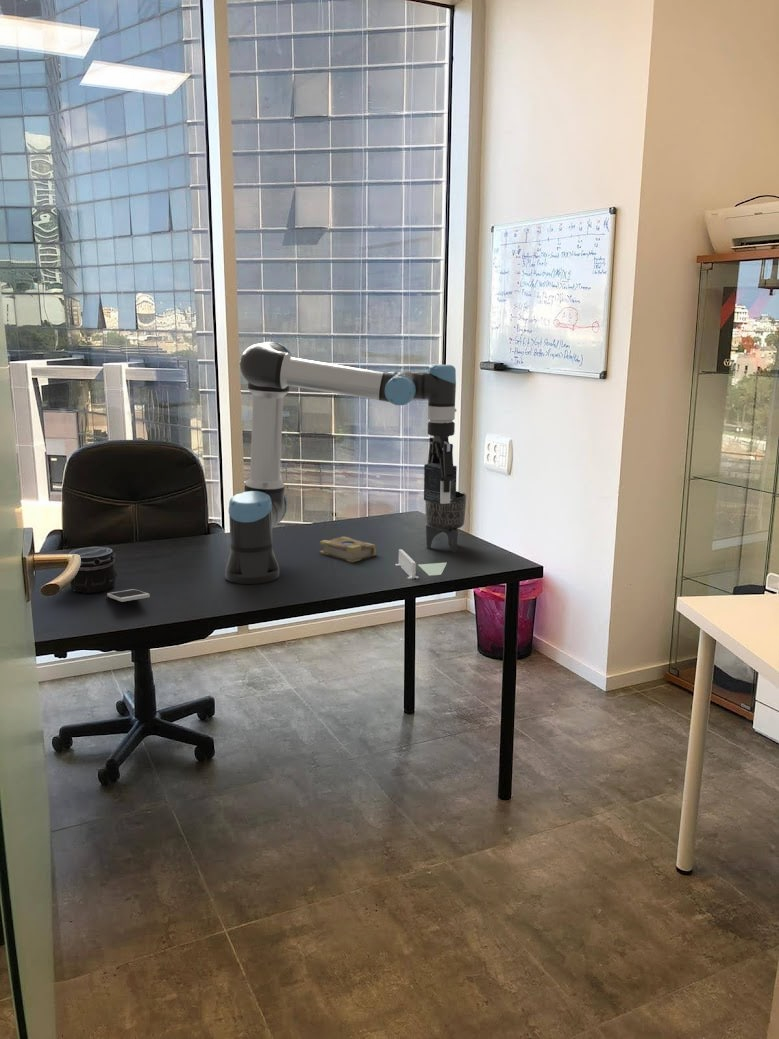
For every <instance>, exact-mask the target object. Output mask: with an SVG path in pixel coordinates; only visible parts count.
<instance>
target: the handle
mask: <svg viewBox="0 0 779 1039" xmlns="http://www.w3.org/2000/svg"><path fill="white" fill-rule="evenodd" d="M416 565H417V563H416V562H415V561H414V559H413V558H411V557H410V555H409V554H408V553H406V551H404V550H403V549H398V563H395V565H394V566H396V567H400V566H401V567H400V568H401V570H403V571H404V572H405V573H406V574H407V575H408V576H407V579H408V580H412V579H413V580H415V578H416V579H420V577H419V576H418V575H416V572H417V571H416V570H417V569H416V568H417V566H416Z"/></svg>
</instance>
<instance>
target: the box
mask: <svg viewBox="0 0 779 1039" xmlns="http://www.w3.org/2000/svg"><path fill="white" fill-rule="evenodd" d="M457 470H458V469H457V465H454V464H453V471H454V479H453V480H451V487H450V503H454V502H456V491H457ZM423 475H424V476H423V500H424V501H425V500H426V501H431V502H435V503H439V504H441V503H440V485H441V481H440V479H441V478H442V475H441V468H440V463H430V464H428V463H425V464H424V465H423ZM447 476H448V475H447ZM446 504H448V503H446Z"/></svg>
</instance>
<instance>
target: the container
mask: <svg viewBox="0 0 779 1039" xmlns="http://www.w3.org/2000/svg"><path fill="white" fill-rule="evenodd" d="M68 554H78V555H80V556H81V566H80V568H79V571H78V573H77V575H76V576H75V578H74V579H73V580H72V581H71V583H69V584H70V587H71V590H72V589H73V590H75V591H78V592H77V593H79V592H83V593H82V594H90V593H99V592H104V591H108V590H110V589H112V588H114V587H115V585H116V584H115V583H116V578H117V576H118V574H117V571H116V568H115V562H116V561H115V558H116V553H115V552H114V551H113V549H112V548H110V547H104V546H89V547H88V546H87V547H82V548H81V547H80V548H77V549H73V550H71V551H69V553H68ZM73 590H72V591H73ZM75 591H74V592H75Z"/></svg>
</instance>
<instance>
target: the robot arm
mask: <svg viewBox="0 0 779 1039" xmlns="http://www.w3.org/2000/svg"><path fill="white" fill-rule="evenodd" d="M293 356H294V355H293V354H292V352H291V351H290V349H289V348H287V347H286V346H285V345H284V344H282V343H279V342H275V341H264V342H261V343H260V342H259V343H255V344H252V345H250V346H248V347H247V348H246V349H245V350H244V351H243V353H242V354H241V357H240V359H239V368H240V372H241V374H242V377H243V378H244V379H245V380H246V381H247V390H248V391H249V392H250V393H251V394H252V415H251V416H252V417H251V422H252V423H251V443H250V448H251V449H250V466H249V467H250V470H249V472H250V474H249V478H248V479H247V480H246V481H244V487H243V488H244V490H243V492H241V493H236V494H235V495H233V496H232V497H231V498H230V500H229V505H228V515H229V516H228V519H229V538H230V540H229V541H230V543H229V544H230V551H229V552H230V553H229V556H228V559H227V563H226V566H225V568H224V569H225V570H224V572H225V575H224V576H225V580H227V581H228V582H230V583H234V584H238V585H240V584H241V585H257V584H265V583H269V582H272V581H276V580H278V578H279V577H280V566H279V563H278V561H277V559H276V556H275V552H274V550H273V549H274V548H273V528H275V527H276V526H277V525H278V524H279V523H281V521H283V519H284V517H285V515H286V513H287V508H288V500H287V498H286V495H285V486H286V485H285V483H284V482H283V481H282V480H281V478H280V477H281V458H282V457H281V455H282V439H283V438H282V436H283V435H282V434H283V433H282V432H283V418H284V416H283V415H284V414H283V413H284V398H285V396H286V395H287V394H288V393H290V387H295V388H301V389H307V390H311V391H312V390H313V391H318V392H319V391H320V392H325V393H331V394H336V395H337V394H338V395H345V396H349V397H350V396H351V397H357V398H364V399H369V400H375V401H381V402H385V403H386V402H387V403H391V404H392V405H394V406H405V405H408V404H409V403H410V402H412V400H427V420H428V422H427V435H429V436H431V437H429V442H428V443H429V445H428V446H429V447H428V458H427V464H430V463H440V468H441V475H442V478H441V479H440V481H441V485H440V503H441V504H446V503H450V487H451V480H453V479H454V471H453V465H454V453H453V450H454V444H453V443H450V442H449V437H450V436H451V437H453V436H454V435H455V431H456V430H455V429H456V428H455V427H456V423H455V421H454V420H455V419H456V418H455V416H456V412H457V408H456V393H457V392H456V391H457V386H456V384H457V380H456V377H457V376H456V375H457V372H456V367H455V366H453V365H451V364H431V365H429V366H428V370H427V371H400V370H396V371H388V372H385V371H384V372H382V371H378V370H371V369H365V368H360V367H354V366H353V367H352V366H346V365H341V364H335V363H330V362H329V363H328V362H323V361H318V360H317V361H315V360H312V359H311V360H310V359H304V358H299V357H293ZM447 475H448V476H447Z"/></svg>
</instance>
